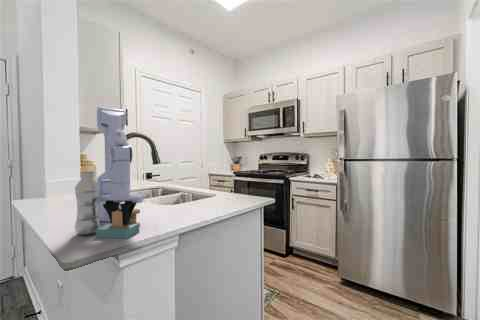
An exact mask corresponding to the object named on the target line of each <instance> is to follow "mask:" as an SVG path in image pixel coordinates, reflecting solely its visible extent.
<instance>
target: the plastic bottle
mask: <svg viewBox="0 0 480 320" xmlns="http://www.w3.org/2000/svg"><path fill="white" fill-rule="evenodd" d="M79 178H80V180H79V181H78V182H77V184H76V185H75V187H74V193H75V200H76V221H75V224H74V230H75V232H76V235H80V236H81V235H82V236H85V235H92V234H94V233H95V234H96V229H97V228H100V224H101V223H100V221H99V218H98V211H97V201H98V193H99V186H98V184H97V180H95V179H94V178H95V171H80V176H79Z"/></svg>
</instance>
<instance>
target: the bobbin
mask: <svg viewBox="0 0 480 320" xmlns="http://www.w3.org/2000/svg"><path fill="white" fill-rule="evenodd" d="M140 213H141V209H139V208H134V209H133V211H132V214H131V217H130V221H129V225H130V224H132V223H134V224H139V228H140V226H141V223H140V222H137V215H138V214H140Z"/></svg>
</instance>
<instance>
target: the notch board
mask: <svg viewBox="0 0 480 320" xmlns="http://www.w3.org/2000/svg"><path fill="white" fill-rule="evenodd" d="M138 232H140V227H139V224H134V223H132V224H130V225H128V226H126V227H124V228H112V225H111V222H109V223H107V224H105V225H102V226H99V228H97V229H96V232H95V238H103V239H105V238H106V239H128V238H130V237H132V236H133V235H135V234H137V233H138Z"/></svg>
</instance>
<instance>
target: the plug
mask: <svg viewBox="0 0 480 320" xmlns="http://www.w3.org/2000/svg"><path fill="white" fill-rule="evenodd" d="M128 225H129V224H127V225H123V215H122V209H121V208H118V210H116V211H113V212H112V228H124V227H126V226H128Z"/></svg>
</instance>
